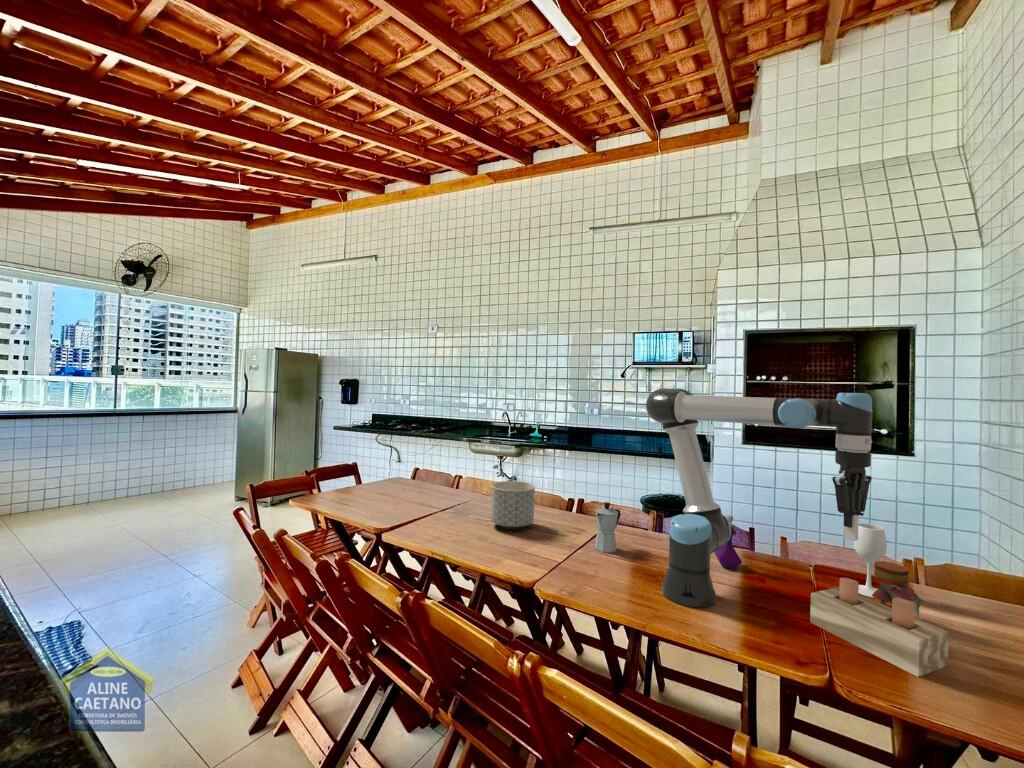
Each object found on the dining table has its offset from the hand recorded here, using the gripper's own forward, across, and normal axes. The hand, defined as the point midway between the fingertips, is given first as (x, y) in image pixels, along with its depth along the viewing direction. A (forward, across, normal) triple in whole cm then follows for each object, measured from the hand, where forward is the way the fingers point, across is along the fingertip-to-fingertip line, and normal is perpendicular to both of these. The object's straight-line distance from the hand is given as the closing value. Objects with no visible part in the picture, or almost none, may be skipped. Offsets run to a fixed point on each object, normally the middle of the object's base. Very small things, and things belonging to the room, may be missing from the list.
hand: (850, 538), depth 117 cm
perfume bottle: (+25, +4, +42) cm, 49 cm away
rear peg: (+18, 0, 0) cm, 18 cm away
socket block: (+24, 0, -6) cm, 25 cm away
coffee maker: (+24, -28, +70) cm, 79 cm away
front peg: (+19, 0, -12) cm, 23 cm away
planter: (+24, -54, +105) cm, 121 cm away
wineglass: (+25, +31, +12) cm, 41 cm away
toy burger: (+25, +18, -1) cm, 30 cm away
